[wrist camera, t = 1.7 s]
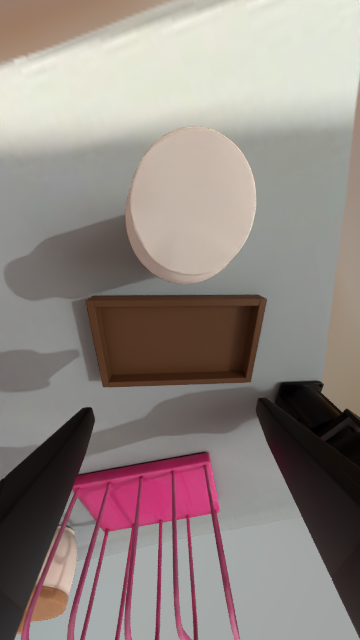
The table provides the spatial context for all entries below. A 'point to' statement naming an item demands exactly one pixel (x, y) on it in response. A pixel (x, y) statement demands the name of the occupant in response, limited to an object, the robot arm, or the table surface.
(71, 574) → the lidded bowl
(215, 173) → the supplement bottle
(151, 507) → the file sorter
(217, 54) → the table surface
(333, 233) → the table surface
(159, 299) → the tray
